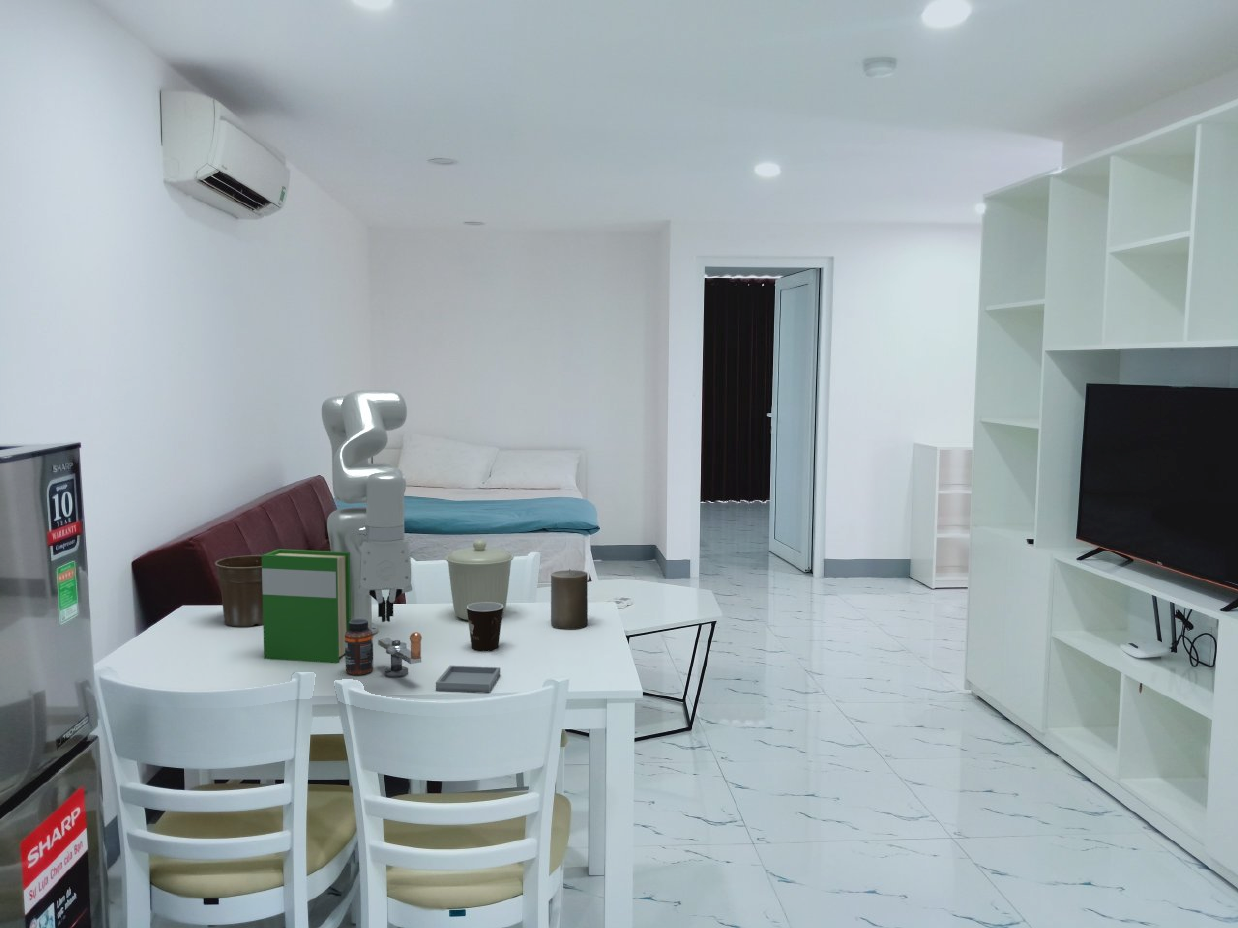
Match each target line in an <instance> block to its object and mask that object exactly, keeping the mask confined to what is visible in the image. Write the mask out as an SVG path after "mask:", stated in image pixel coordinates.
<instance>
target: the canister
mask: <svg viewBox="0 0 1238 928" xmlns="http://www.w3.org/2000/svg"><path fill="white" fill-rule="evenodd" d="M514 557H515V556H514V555H513V554H512V553H510V552H508V551H507V550H506V549H503V548H498V547H497V548H496V547H489V546H488V547H487V541H485V540H484V539H481V538H480V539H476V540H474V541H473V543H472V547H467V548H465V547H464V548H460V549H456V550H453V551H452V552H450V553H449V554H448V555H446V556H445V557H444V558H445V561H446V562H447V564H448V565H447V566H448V573H449V575H448V576H449V582H450V583H449V584H450V591H451V592H450V594H451V599H452V607H453V610H454V613H455V614H456V616H457V617H458V618H459V619H461V620H464V621H468V614H467V606H468V605H470V604H474V603H480V602H493V603H499V604H502V605H503V613H502V615H503V614H504V612H505V611H506V607H507V600H508V593H509V584H510V574H511V564H512V561H513V560H514Z"/></svg>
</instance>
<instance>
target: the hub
mask: <svg viewBox="0 0 1238 928" xmlns="http://www.w3.org/2000/svg"><path fill="white" fill-rule="evenodd" d="M408 675H409V667H407V666H404V665H403V659H401V658H399V657H398V656H396V655H391V654H390V666H388V667H386V668H385V669H384V676H385V677H386V678H392V679H393V678H394V679H396V678H403V677H406V676H408Z"/></svg>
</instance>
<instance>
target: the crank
mask: <svg viewBox="0 0 1238 928" xmlns="http://www.w3.org/2000/svg"><path fill="white" fill-rule="evenodd" d="M422 639H423V638H422V635H421V633H420V632H417V631H415V632H412V633H411V634H410V635H409V641H410V649H408V648H407V646H408V645H407V643H406V642H403V641H401V640H400V639H399V640H398V639H395V640H394V639H391V638H389V637H385V638H379V639H377V641H378V643H377V644H378V646H379V647H381V648H383V649H384V650H385V653H386V654H387V655H390V656H391V655H396V656H398V657H399V658H401V659H402V661H404V662H407V663H408V664H409V665H415V664H419V663H422V650H421V649H422V648H421V647H422V646H421V645H422Z"/></svg>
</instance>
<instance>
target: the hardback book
mask: <svg viewBox="0 0 1238 928" xmlns="http://www.w3.org/2000/svg"><path fill="white" fill-rule="evenodd" d="M261 555H262V587H263V625H262V626H263V653H264V656H263V657H264V659H265V660H276V661H277V660H279V661H291V662H292V661H293V662H305V663H306V662H307V663H309V662H310V663H324V664H326V663H327V664H338V663H340V658H341V657H342V656H344V655H345V633H346V632H347V631H348V630H349V622H350V621H351V588H350V552H332V551H331V550H328V551H327V550H308V549H307V550H306V549H283V548H282V549H281V548H277V549H275V550H273V551H269V552H267V553H264V554H261Z"/></svg>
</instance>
